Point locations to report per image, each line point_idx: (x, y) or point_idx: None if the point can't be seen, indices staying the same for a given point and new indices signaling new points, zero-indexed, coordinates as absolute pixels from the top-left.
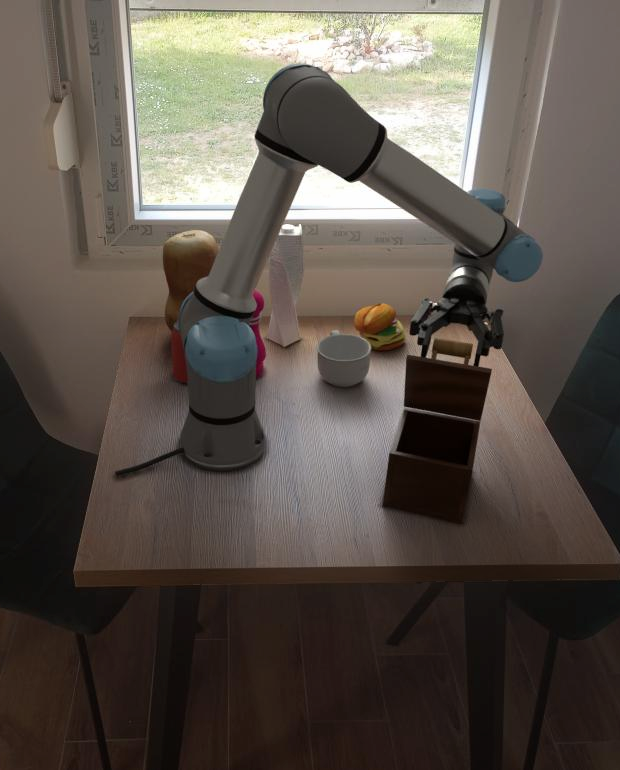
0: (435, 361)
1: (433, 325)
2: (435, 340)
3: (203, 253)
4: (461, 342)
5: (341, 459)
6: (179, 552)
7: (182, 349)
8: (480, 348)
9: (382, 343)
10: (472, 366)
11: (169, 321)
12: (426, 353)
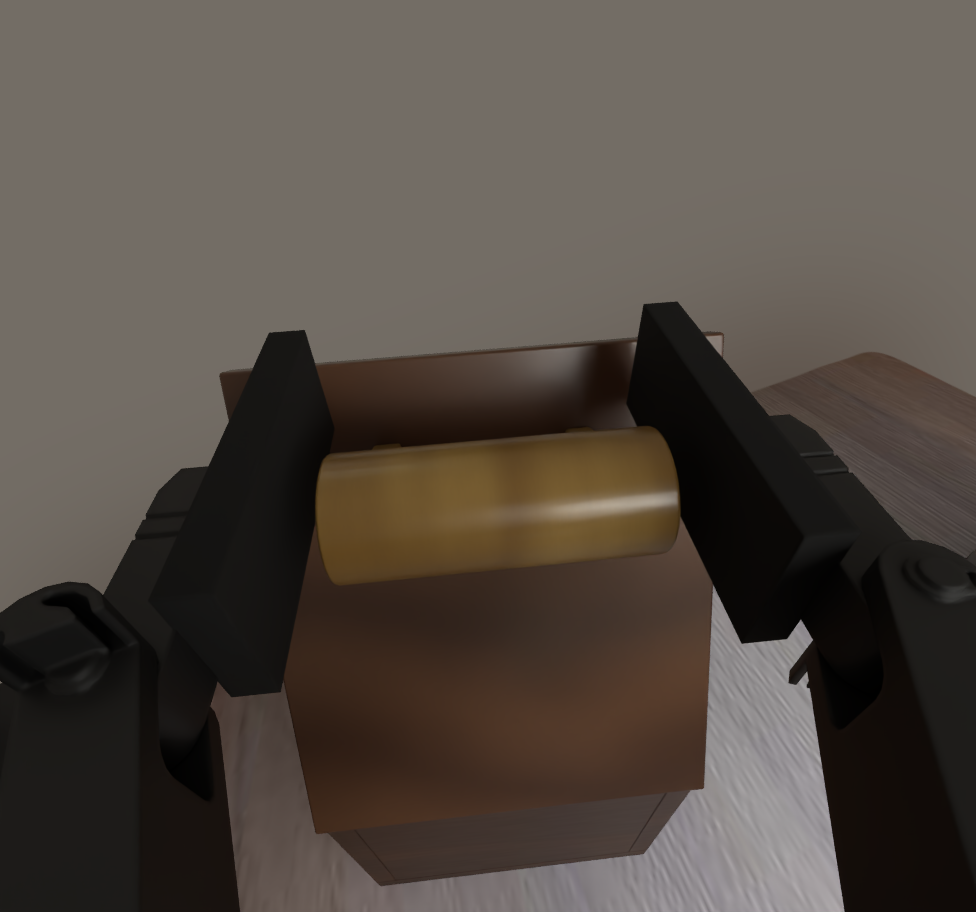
0: (550, 344)
1: (889, 744)
2: (644, 429)
3: None
4: (423, 468)
5: (789, 752)
6: (804, 395)
7: None
8: (259, 376)
9: None
10: (336, 362)
11: None
12: (643, 407)
